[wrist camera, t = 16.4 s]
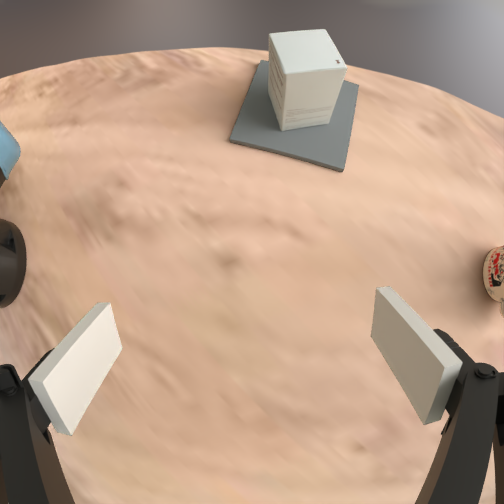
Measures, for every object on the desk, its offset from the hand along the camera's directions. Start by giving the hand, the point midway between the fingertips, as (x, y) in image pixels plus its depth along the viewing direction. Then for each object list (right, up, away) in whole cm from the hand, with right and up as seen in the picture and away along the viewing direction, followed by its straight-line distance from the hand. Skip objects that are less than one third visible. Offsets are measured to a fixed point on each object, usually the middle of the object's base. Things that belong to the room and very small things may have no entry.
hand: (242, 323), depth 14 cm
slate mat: (+7, +24, +28) cm, 37 cm away
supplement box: (+7, +24, +27) cm, 37 cm away
